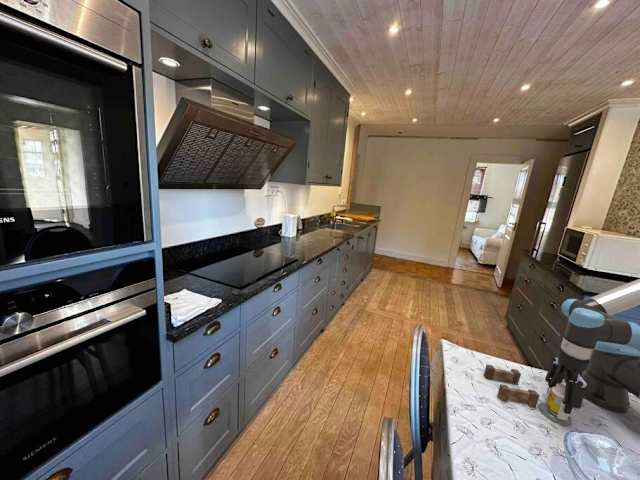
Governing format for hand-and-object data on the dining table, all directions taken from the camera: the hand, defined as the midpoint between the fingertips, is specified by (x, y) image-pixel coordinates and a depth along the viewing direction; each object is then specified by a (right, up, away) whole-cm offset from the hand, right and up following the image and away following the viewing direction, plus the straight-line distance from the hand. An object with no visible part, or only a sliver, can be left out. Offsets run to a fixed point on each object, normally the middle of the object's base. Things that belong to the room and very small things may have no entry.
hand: (555, 411), depth 93 cm
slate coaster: (0, -1, 0) cm, 1 cm away
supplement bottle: (0, 0, 0) cm, 1 cm away
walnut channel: (-10, +2, +10) cm, 14 cm away
